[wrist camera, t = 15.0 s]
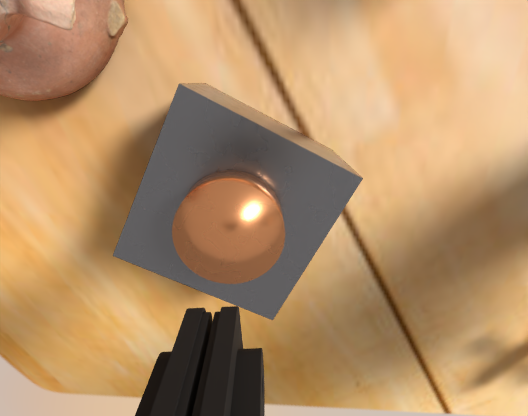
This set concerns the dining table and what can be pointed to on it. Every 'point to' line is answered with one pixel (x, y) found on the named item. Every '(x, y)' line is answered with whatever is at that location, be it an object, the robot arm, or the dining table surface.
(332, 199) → the hitch block
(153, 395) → the robot arm
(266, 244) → the copper pin
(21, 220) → the dining table surface
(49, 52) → the ceramic jug
